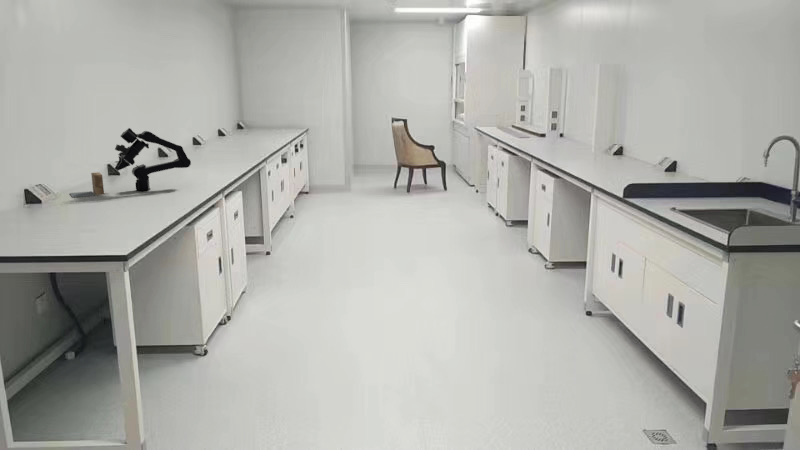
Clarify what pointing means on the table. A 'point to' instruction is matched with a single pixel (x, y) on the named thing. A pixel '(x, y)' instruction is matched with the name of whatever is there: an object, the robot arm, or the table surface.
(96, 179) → the walnut block
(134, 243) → the table surface
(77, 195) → the mat
